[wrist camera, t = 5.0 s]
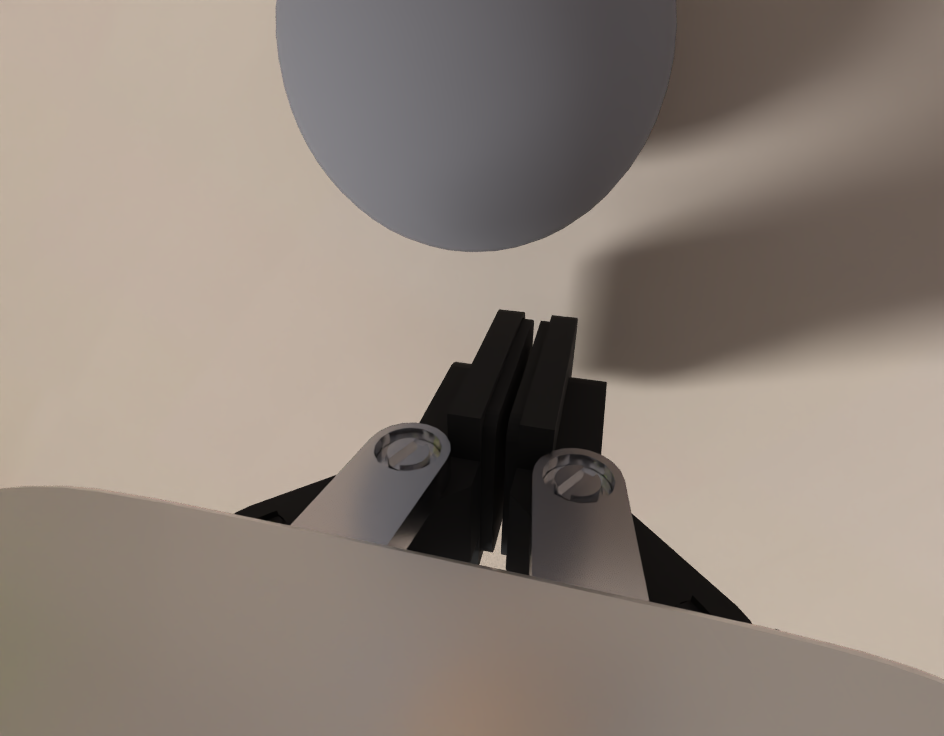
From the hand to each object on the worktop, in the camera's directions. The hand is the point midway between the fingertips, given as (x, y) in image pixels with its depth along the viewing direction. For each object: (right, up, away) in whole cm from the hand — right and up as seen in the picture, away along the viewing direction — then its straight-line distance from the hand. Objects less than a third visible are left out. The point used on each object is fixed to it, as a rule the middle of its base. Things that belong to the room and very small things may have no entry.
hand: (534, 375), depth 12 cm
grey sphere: (-1, +5, -4) cm, 6 cm away
